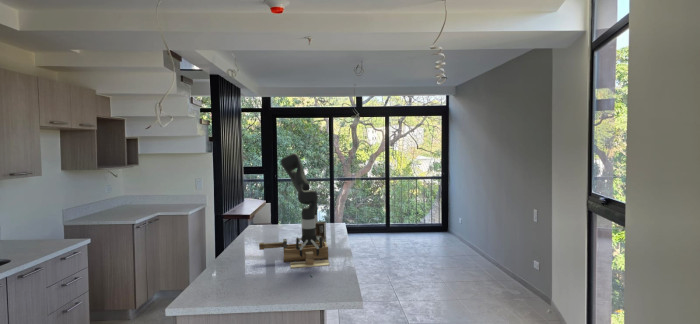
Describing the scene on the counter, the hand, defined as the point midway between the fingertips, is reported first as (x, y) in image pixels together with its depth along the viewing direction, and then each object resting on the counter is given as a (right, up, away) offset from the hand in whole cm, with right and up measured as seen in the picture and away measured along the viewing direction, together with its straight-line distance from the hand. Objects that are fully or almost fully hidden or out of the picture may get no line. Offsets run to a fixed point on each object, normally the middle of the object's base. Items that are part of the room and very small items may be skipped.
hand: (309, 255), depth 212 cm
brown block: (-22, +2, +9) cm, 24 cm away
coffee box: (+2, -3, +33) cm, 33 cm away
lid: (0, -5, 0) cm, 5 cm away
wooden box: (-3, -4, +13) cm, 14 cm away
